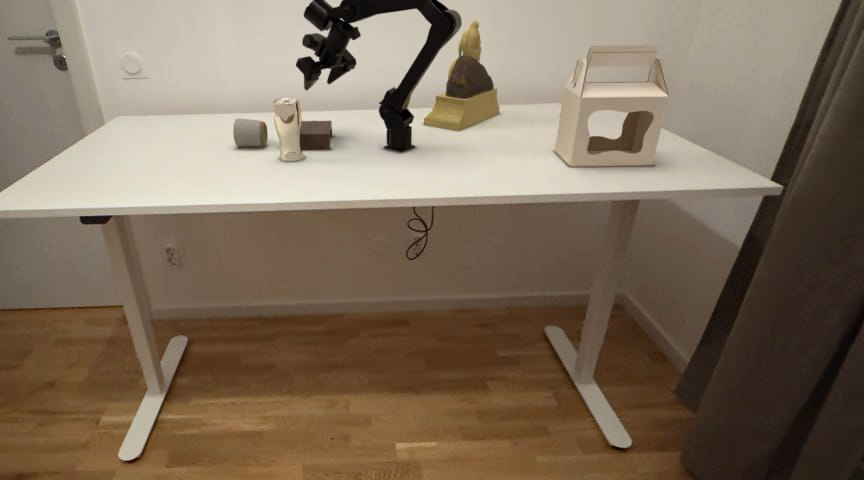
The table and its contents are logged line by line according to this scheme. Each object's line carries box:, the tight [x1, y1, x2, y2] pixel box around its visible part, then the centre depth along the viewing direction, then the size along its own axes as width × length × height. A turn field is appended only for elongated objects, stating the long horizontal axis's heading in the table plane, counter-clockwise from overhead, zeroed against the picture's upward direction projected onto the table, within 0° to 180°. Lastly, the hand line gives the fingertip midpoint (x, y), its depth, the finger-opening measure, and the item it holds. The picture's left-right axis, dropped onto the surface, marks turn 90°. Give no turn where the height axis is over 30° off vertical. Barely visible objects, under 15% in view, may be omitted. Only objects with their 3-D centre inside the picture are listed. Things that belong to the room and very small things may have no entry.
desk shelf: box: [301, 120, 333, 151], centre depth 153 cm, size 12×14×9 cm
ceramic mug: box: [232, 118, 269, 148], centre depth 152 cm, size 11×8×8 cm
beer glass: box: [272, 97, 304, 162], centre depth 139 cm, size 7×7×15 cm
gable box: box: [554, 45, 670, 168], centre depth 136 cm, size 22×13×28 cm, turn 93°
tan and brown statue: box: [423, 20, 501, 132], centre depth 172 cm, size 28×13×30 cm, turn 144°
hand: (317, 86), depth 154 cm, fingers open, 9 cm apart
